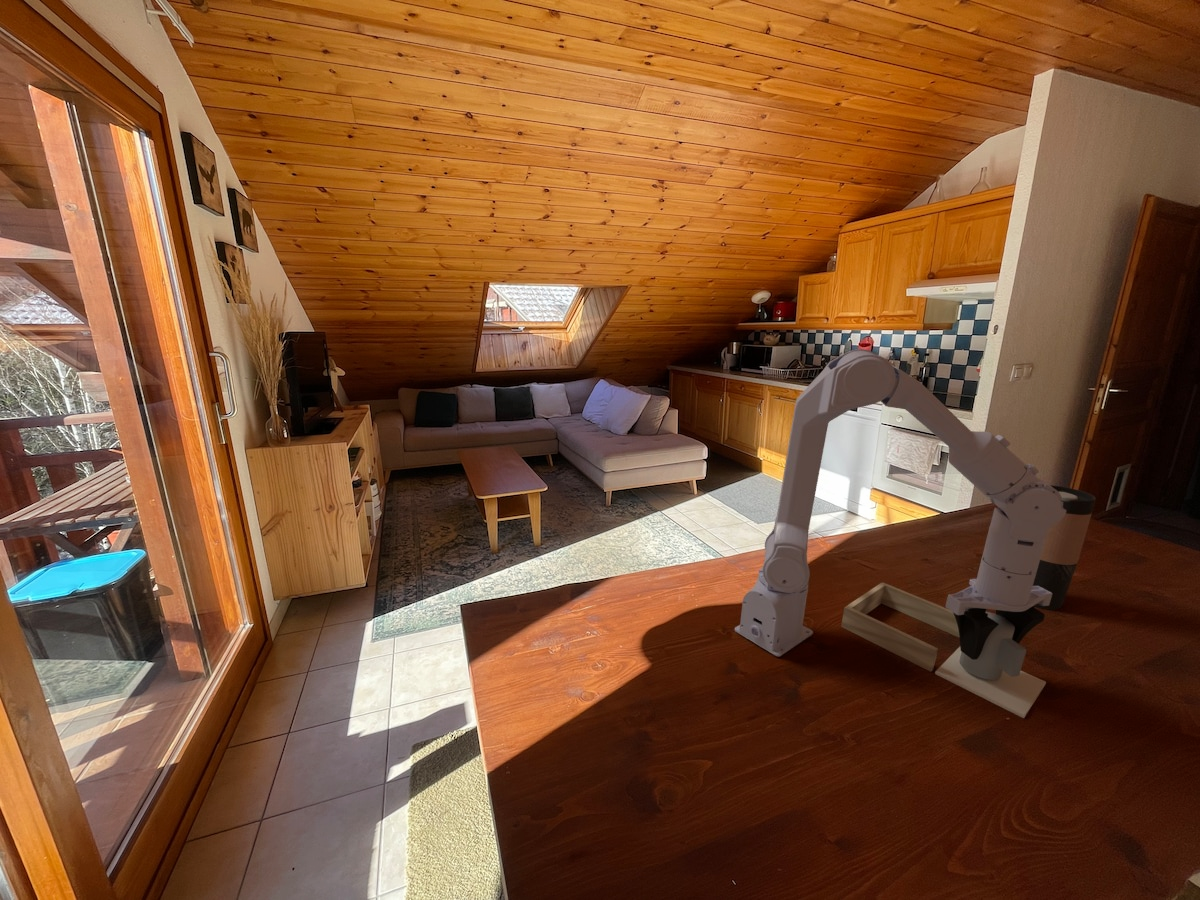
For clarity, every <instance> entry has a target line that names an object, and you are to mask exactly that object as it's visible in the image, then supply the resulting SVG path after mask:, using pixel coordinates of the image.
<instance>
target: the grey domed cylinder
mask: <svg viewBox="0 0 1200 900" xmlns="http://www.w3.org/2000/svg"><path fill="white" fill-rule="evenodd" d="M985 613H988V616H987V617H989V618H991V619H992V620H994V621H995V622H997V623H998V624H999V625H998V626H997V627H996V628H995V629H994V630H993V631H992V632H991V633H990V635H989V636H988V638H987V639H986V641H985V644H984V646H983V649H982V652H981V654H980V656H979V657H978V659H975V660H973V659H971V658H970V657H968V656H967V655H966V654H964V653H963V652H961V656H960V660H959V662H960V665H961V666H962V667H963V668H964V669H965V670H966V671H968V672H969V673H971V674H973V675H975V676H978V677H980V678H983V679H988V680H997V679H999V678H1001V675H1002V672H1003V671H1004V672H1005V673H1007V674H1008V675H1009V676H1011V677H1013V676H1019V674H1020V671H1022V667H1023V664H1024V660H1025V657H1026V655H1027V654H1026V653H1027V649H1026V648H1025V647H1024V646H1022V645H1020V643H1019V644H1018V643H1016V642H1015V641H1014V640H1012V637H1013V634H1014V630H1015V627H1014V625H1013V624H1012V623H1011V622H1010V621H1009V620H1007V619H1005V618H1004V617H1002V616H999V615H997V614H996V613H993V612H989V611H986V612H985Z"/></svg>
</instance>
